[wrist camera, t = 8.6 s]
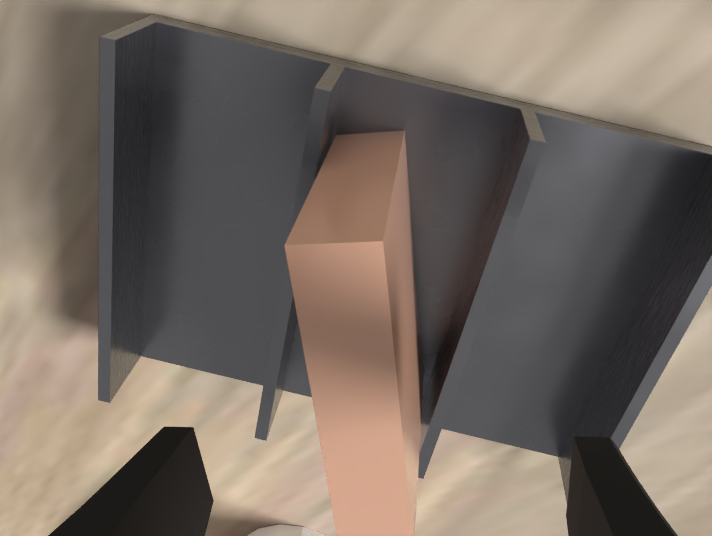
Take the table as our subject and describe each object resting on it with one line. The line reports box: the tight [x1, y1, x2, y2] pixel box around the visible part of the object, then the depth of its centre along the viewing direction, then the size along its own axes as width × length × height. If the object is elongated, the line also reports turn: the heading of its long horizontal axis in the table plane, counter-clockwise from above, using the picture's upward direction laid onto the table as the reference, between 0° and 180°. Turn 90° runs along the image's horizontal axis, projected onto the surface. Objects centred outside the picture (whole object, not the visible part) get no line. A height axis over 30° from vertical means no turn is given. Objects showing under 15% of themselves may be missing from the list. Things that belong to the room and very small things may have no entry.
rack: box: [98, 14, 712, 502], centre depth 21 cm, size 17×12×3 cm
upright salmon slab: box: [284, 130, 424, 536], centre depth 18 cm, size 2×9×7 cm, turn 6°
